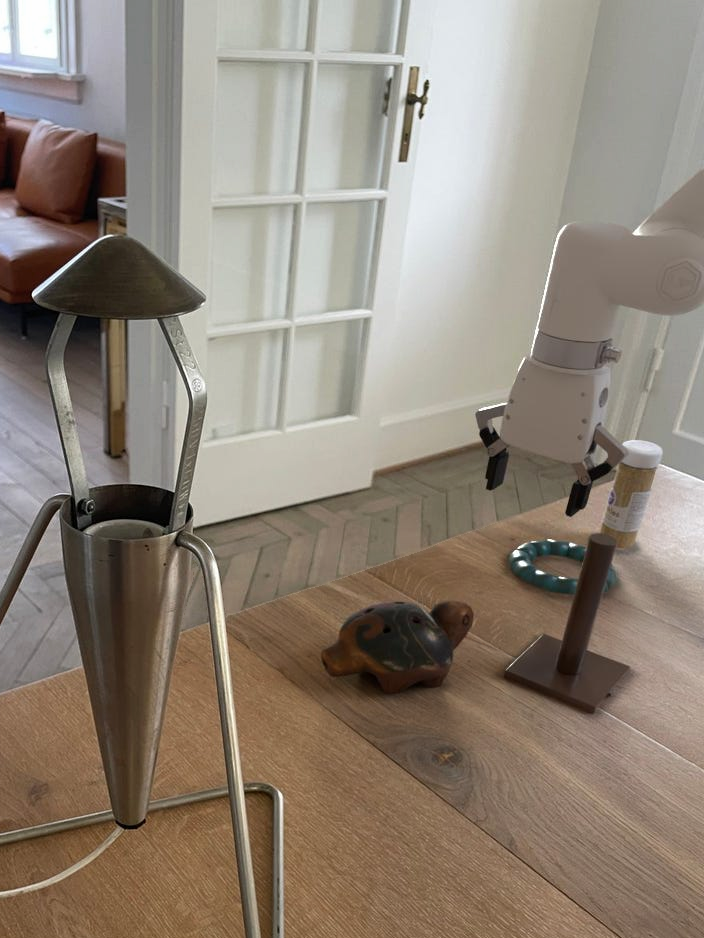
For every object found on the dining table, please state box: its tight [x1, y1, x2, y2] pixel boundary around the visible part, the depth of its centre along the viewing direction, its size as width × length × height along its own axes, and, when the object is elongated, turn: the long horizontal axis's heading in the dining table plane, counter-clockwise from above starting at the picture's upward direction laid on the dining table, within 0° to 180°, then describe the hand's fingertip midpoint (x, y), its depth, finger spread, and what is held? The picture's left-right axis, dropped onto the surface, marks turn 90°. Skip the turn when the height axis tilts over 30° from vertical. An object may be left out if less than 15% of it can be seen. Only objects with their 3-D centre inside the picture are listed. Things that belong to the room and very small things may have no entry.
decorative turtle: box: [320, 599, 474, 694], centre depth 92 cm, size 10×15×8 cm, turn 112°
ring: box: [508, 539, 618, 596], centre depth 112 cm, size 12×12×2 cm
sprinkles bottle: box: [599, 439, 664, 549], centre depth 116 cm, size 5×5×13 cm
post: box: [503, 532, 631, 715], centre depth 91 cm, size 9×9×16 cm
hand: (532, 499), depth 111 cm, fingers open, 9 cm apart
